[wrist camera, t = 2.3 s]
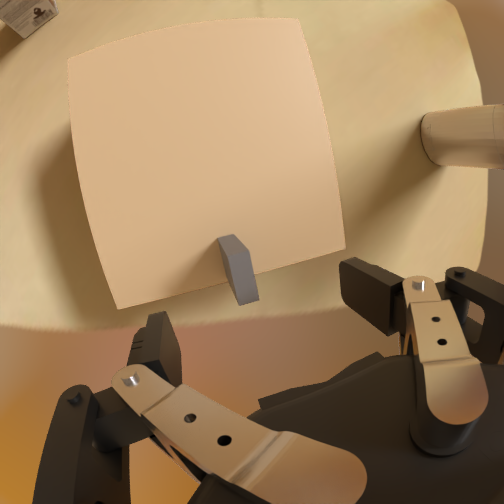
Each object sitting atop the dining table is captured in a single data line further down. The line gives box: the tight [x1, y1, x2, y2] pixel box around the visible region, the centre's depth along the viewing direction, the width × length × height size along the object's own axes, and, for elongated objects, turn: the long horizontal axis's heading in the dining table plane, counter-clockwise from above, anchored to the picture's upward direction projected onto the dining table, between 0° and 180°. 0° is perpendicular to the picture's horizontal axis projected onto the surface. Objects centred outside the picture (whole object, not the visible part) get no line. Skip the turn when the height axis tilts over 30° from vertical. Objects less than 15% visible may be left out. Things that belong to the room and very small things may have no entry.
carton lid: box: [68, 18, 346, 310], centre depth 15 cm, size 19×20×6 cm
